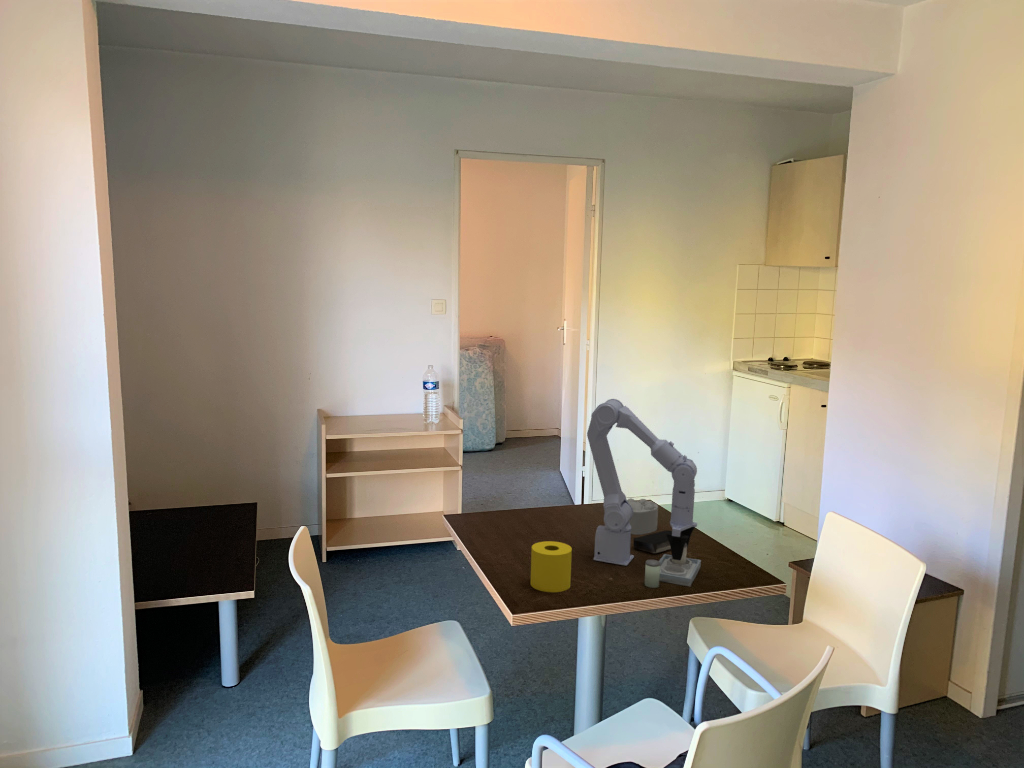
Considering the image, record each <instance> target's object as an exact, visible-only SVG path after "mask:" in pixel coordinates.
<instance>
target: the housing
mask: <svg viewBox="0 0 1024 768" xmlns="http://www.w3.org/2000/svg"><path fill="white" fill-rule="evenodd" d="M658 561H659V562H660V577H659V582H662V583H669V584H674V585H678V586H683V587H684V586H685V587H692V585H693V582H694V580H695V579H696V577H697V576H698V573H699V572H700V570H701V565H702V560H701V559H696V558H691V557H686V564H685V565H679V564H673V563H672V554H667V553H664V554H663V555H662V557H661V558H660V559H659V560H658Z"/></svg>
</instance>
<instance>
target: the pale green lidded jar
mask: <svg viewBox="0 0 1024 768" xmlns="http://www.w3.org/2000/svg"><path fill="white" fill-rule="evenodd" d="M659 561H660V560H656V559H647V560H645V571H644V586H646V587H647V588H651V589H652V588H653V589H655V588H659V587H660V581H659V577H660V562H659Z"/></svg>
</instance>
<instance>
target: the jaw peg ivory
mask: <svg viewBox="0 0 1024 768" xmlns="http://www.w3.org/2000/svg"><path fill="white" fill-rule="evenodd" d="M687 550H688V548H687V544H686V543H685V546H684V550H683V554H682V558H681V560H674V559H673V558H672V563H673V564H679V565H685V564H686V558H687V554H688V551H687Z"/></svg>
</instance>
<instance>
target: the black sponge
mask: <svg viewBox="0 0 1024 768" xmlns="http://www.w3.org/2000/svg"><path fill="white" fill-rule="evenodd" d="M667 532H672V530H670V529H669V530H668V529H666V530H661V531H657V532H654V533H653V532H652V533H648V534H644V535H642V536H641V535H640V536H637V537H633V539H632V540H633V543H632V544H633V548H634V549H636V550H641V551H644V552H648V553H652V554H658V553H661V552H665V551H668V550H671V547H670V543H669V540H668V538H667V536H666V534H667Z"/></svg>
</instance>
